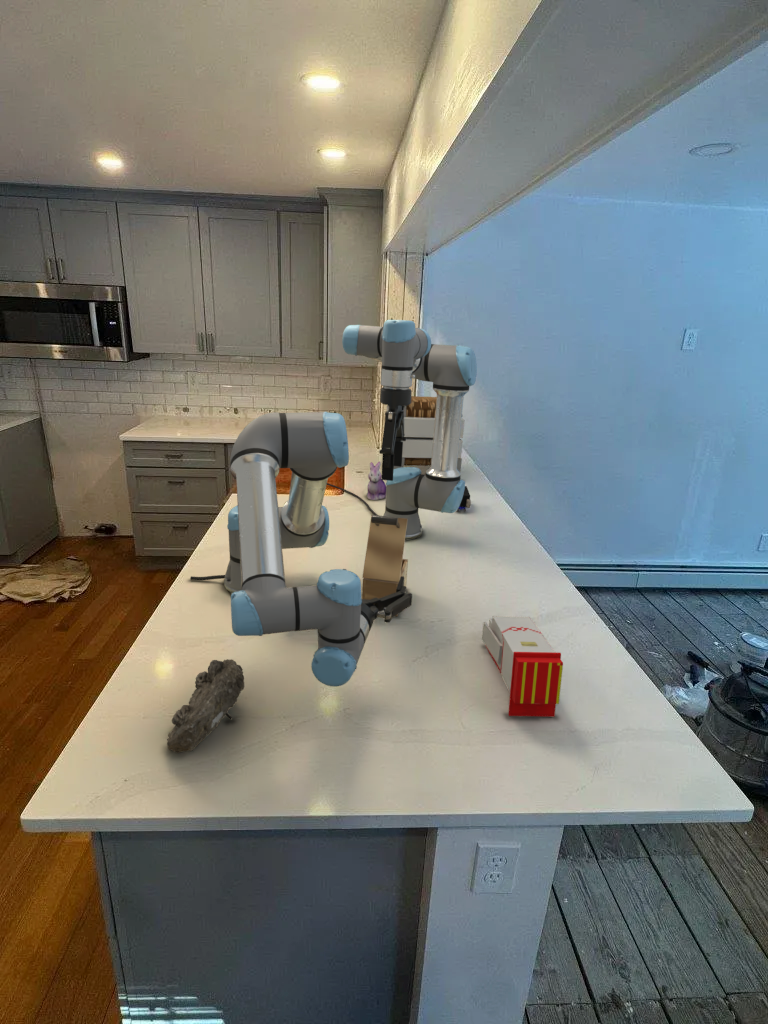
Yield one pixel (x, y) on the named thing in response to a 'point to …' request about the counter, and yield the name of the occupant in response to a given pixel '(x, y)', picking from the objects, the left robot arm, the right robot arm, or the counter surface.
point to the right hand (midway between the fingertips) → (392, 472)
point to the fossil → (206, 705)
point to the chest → (382, 585)
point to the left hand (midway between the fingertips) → (373, 577)
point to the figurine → (376, 483)
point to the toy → (525, 665)
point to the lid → (385, 548)
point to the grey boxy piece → (422, 432)
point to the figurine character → (465, 500)
